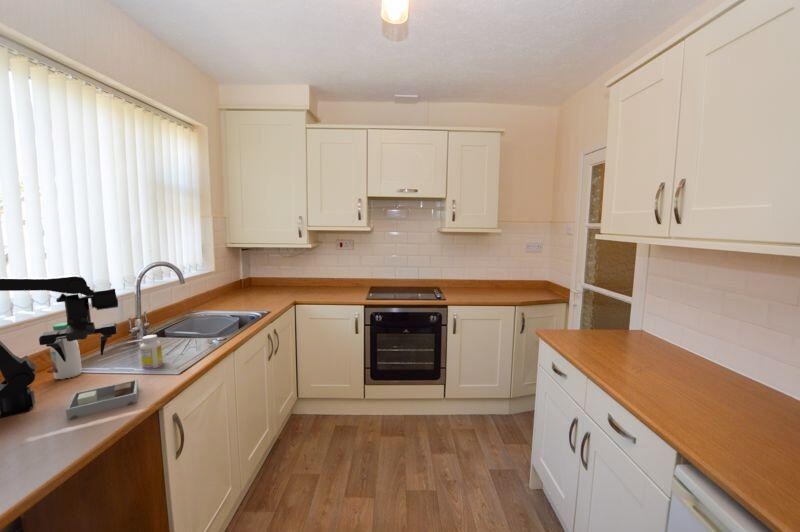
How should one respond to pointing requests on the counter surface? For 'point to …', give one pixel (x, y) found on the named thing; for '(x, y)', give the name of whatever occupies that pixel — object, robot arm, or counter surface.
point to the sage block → (87, 398)
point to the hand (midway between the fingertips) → (84, 357)
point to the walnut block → (123, 389)
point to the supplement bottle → (151, 352)
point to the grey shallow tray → (102, 400)
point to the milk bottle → (72, 357)
